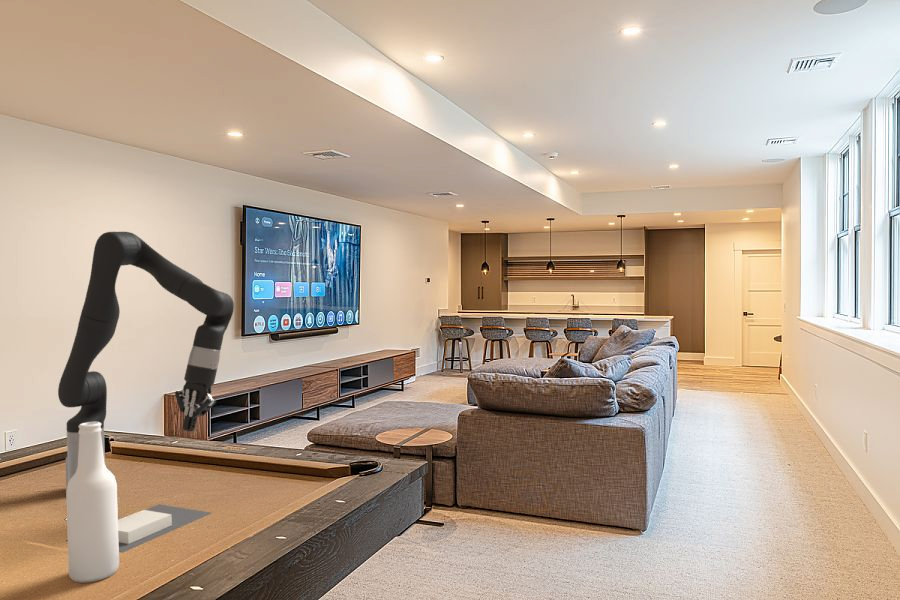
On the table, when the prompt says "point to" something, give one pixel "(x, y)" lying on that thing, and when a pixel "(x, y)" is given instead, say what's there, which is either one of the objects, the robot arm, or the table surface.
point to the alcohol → (92, 512)
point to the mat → (178, 520)
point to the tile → (142, 525)
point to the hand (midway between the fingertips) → (188, 430)
